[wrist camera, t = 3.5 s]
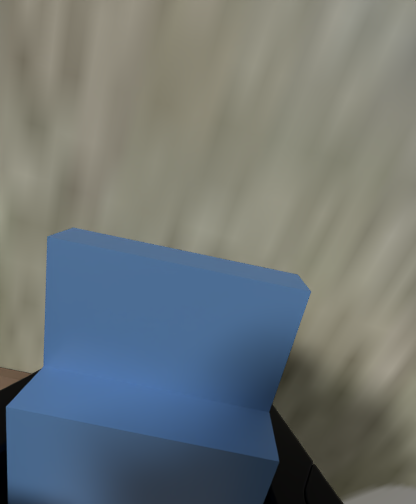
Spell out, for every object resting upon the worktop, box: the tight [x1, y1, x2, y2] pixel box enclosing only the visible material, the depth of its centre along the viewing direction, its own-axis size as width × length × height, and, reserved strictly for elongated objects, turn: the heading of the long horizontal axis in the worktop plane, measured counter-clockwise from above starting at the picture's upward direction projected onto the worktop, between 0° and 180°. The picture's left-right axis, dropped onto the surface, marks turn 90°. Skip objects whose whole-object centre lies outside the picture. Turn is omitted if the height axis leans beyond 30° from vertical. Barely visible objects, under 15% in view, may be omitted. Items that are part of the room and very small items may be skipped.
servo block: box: [6, 228, 311, 504], centre depth 7 cm, size 3×9×6 cm, turn 168°
